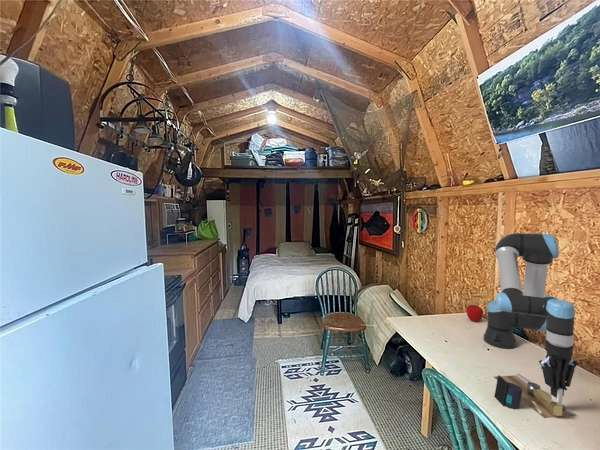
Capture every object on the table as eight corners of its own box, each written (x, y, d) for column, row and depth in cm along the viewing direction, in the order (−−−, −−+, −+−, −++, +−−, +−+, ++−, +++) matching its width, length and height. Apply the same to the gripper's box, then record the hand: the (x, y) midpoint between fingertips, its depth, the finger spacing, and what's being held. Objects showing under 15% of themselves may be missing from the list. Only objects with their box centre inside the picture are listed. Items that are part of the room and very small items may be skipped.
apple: (469, 323, 186) (469, 307, 186) (463, 317, 196) (463, 302, 195) (486, 324, 185) (486, 307, 184) (479, 318, 194) (479, 302, 194)
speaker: (497, 408, 109) (500, 382, 108) (493, 399, 114) (496, 374, 113) (521, 415, 106) (525, 388, 105) (516, 406, 111) (520, 380, 110)
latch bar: (524, 390, 117) (525, 380, 116) (535, 391, 116) (536, 380, 116) (551, 417, 102) (552, 405, 101) (564, 418, 101) (564, 406, 101)
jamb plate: (518, 377, 128) (518, 373, 128) (575, 419, 103) (575, 414, 103) (493, 379, 127) (493, 375, 127) (544, 421, 102) (544, 416, 102)
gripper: (565, 337, 109) (563, 396, 110) (533, 338, 108) (531, 398, 110) (586, 346, 101) (583, 410, 103) (551, 348, 100) (549, 412, 102)
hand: (556, 404), depth 106 cm, fingers closed
